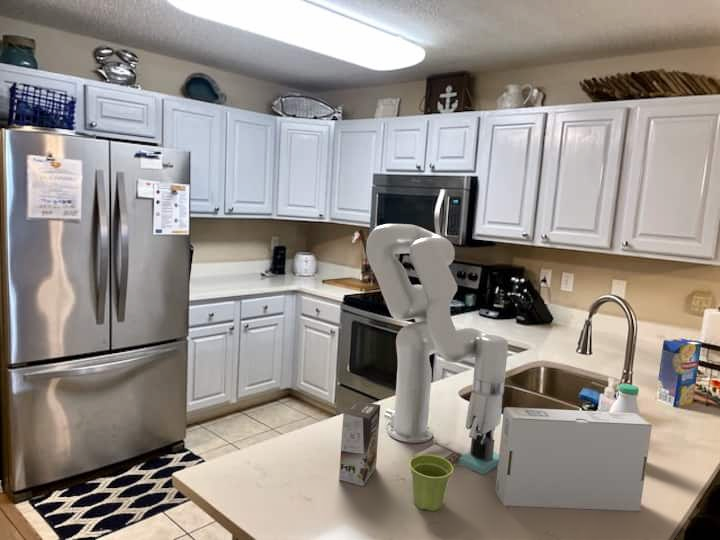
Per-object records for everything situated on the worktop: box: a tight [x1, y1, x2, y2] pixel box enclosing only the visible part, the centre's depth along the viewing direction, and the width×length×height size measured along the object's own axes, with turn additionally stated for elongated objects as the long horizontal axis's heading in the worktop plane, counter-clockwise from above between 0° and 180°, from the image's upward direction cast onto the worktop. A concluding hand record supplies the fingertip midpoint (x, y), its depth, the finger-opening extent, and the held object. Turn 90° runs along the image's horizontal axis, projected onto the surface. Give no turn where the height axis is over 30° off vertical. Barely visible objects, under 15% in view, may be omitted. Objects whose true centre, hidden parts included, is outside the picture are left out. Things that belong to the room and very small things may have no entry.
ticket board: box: [412, 442, 463, 466], centre depth 127 cm, size 8×10×2 cm
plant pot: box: [408, 455, 454, 512], centre depth 108 cm, size 9×9×9 cm
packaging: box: [495, 406, 653, 512], centre depth 112 cm, size 30×6×20 cm, turn 92°
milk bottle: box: [609, 383, 642, 418], centre depth 134 cm, size 8×8×20 cm
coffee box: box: [338, 400, 381, 487], centre depth 118 cm, size 9×6×16 cm
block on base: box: [457, 433, 499, 475], centre depth 127 cm, size 7×10×6 cm
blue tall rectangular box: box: [655, 338, 702, 408], centre depth 179 cm, size 7×11×22 cm, turn 117°
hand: (481, 454), depth 127 cm, fingers closed on block on base, 2 cm apart
